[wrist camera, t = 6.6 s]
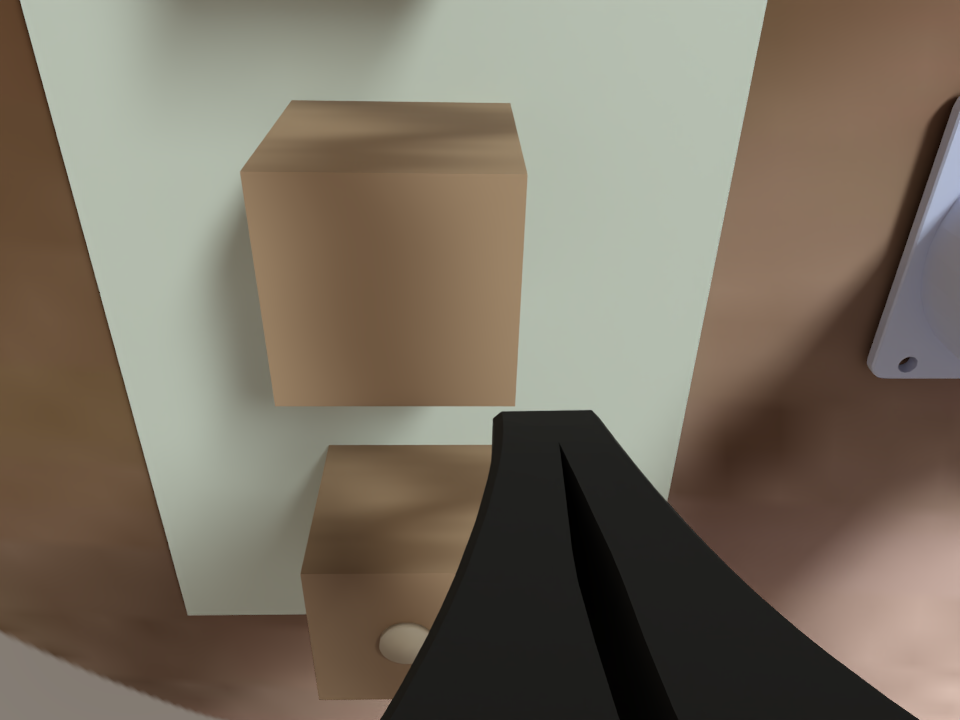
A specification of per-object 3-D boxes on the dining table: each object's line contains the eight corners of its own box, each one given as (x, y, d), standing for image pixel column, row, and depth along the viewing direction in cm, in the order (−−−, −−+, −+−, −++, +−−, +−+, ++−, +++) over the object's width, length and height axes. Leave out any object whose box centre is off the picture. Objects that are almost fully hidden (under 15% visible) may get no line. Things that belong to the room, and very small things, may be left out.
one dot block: (496, 444, 23) (506, 578, 19) (491, 562, 26) (499, 704, 21) (322, 445, 23) (290, 581, 18) (335, 563, 26) (310, 706, 21)
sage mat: (906, -748, 12) (920, -767, 11) (642, 602, 28) (645, 611, 27) (-186, -805, 11) (-206, -827, 11) (191, 606, 27) (187, 615, 27)
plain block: (510, 103, 18) (527, 174, 13) (502, 296, 20) (515, 406, 16) (291, 100, 18) (239, 171, 13) (312, 295, 20) (275, 406, 16)
